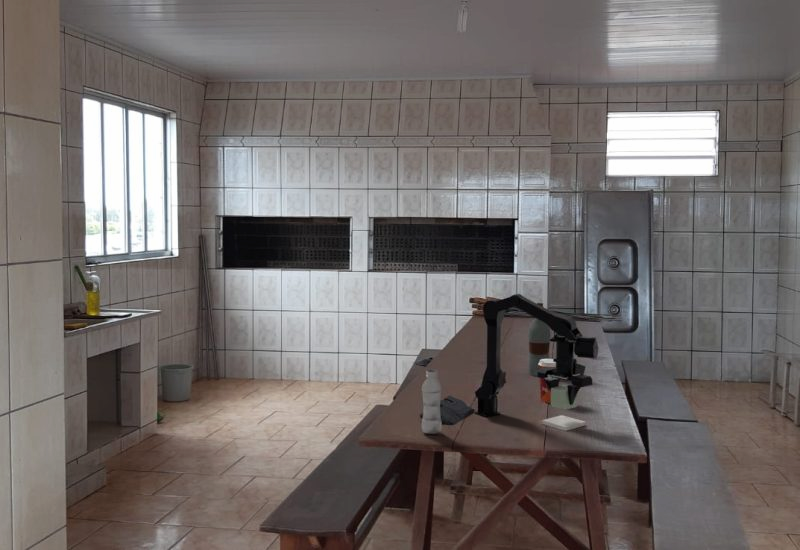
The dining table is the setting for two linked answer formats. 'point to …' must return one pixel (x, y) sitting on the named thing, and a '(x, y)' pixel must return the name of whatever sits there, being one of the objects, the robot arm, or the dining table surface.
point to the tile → (563, 422)
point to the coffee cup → (544, 389)
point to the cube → (561, 398)
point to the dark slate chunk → (453, 410)
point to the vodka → (538, 344)
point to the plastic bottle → (431, 403)
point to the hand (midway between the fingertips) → (563, 402)
